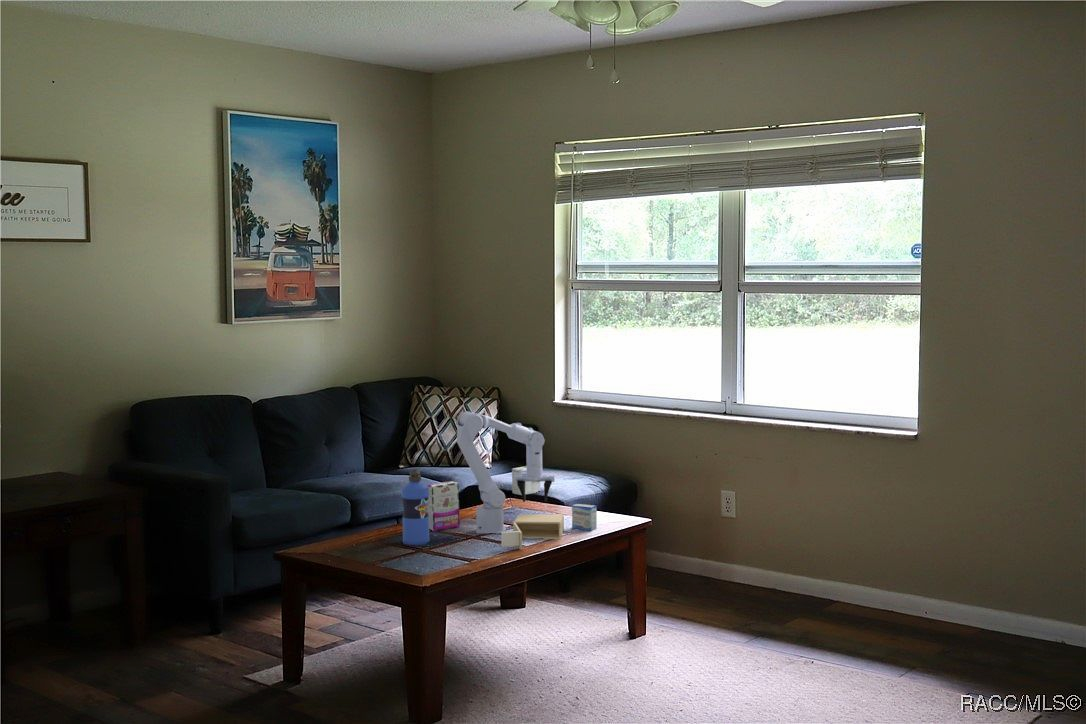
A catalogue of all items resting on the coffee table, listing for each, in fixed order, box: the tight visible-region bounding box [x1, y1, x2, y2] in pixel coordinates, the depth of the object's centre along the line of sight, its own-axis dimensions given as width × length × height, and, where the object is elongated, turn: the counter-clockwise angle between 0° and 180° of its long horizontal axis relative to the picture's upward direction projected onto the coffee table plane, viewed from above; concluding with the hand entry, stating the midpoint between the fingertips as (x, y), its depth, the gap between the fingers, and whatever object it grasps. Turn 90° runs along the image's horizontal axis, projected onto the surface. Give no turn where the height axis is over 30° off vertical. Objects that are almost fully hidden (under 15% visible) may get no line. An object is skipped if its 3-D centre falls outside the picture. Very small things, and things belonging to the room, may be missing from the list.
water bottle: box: [400, 468, 430, 546], centre depth 365 cm, size 9×9×25 cm
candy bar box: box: [426, 480, 461, 532], centre depth 385 cm, size 11×5×16 cm, turn 126°
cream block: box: [500, 521, 523, 551], centre depth 359 cm, size 16×7×6 cm, turn 10°
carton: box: [513, 513, 565, 540], centre depth 374 cm, size 16×12×6 cm
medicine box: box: [571, 503, 598, 532], centre depth 382 cm, size 8×4×9 cm, turn 62°
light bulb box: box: [511, 465, 541, 496], centre depth 450 cm, size 11×7×11 cm, turn 130°
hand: (534, 501), depth 385 cm, fingers open, 7 cm apart
